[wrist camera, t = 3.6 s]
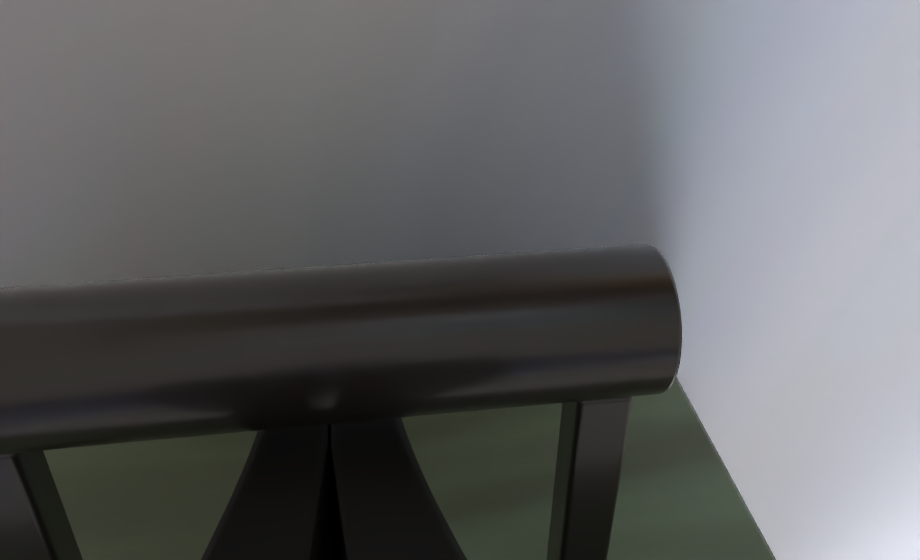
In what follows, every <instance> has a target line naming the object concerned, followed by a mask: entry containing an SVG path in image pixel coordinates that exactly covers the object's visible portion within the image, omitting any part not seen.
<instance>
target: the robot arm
mask: <svg viewBox="0 0 920 560" xmlns="http://www.w3.org/2000/svg"><path fill="white" fill-rule="evenodd" d="M201 560H467V558H466V557H465V555H464V553H463V551H462V550H461V548H460V546H459V544H458V542H457V540H456V538H455V536H454V535H453V533H452V531H451V529H450V527H449V525H448V523H447V521H446V519H445V517H444V516H443V514H442V512H441V510H440V508H439V506H438V504H437V502H436V500H435V498H434V496H433V494H432V492H431V490H430V488H429V486H428V484H427V482H426V479H425V477H424V475H423V473H422V470H421V468H420V466H419V463H418V461H417V459H416V456H415V454H414V452H413V449H412V446H411V444H410V441H409V439H408V436H407V433H406V430H405V427H404V424H403V421H402V418H392V419H381V420H370V421H359V422H348V423H337V424H326V425H315V426H304V427H293V428H282V429H271V430H260V431H257V434H256V437H255V440H254V443H253V445H252V448H251V451H250V453H249V456H248V458H247V461H246V463H245V466H244V468H243V470H242V473H241V475H240V477H239V480H238V482H237V484H236V487H235V489H234V491H233V494H232V496H231V498H230V500H229V503H228V505H227V507H226V509H225V511H224V513H223V515H222V517H221V519H220V521H219V523H218V525H217V527H216V529H215V531H214V534H213V536H212V538H211V540H210V542H209V544H208V546H207V548H206V550H205V552H204V554H203V556H202V558H201Z"/></svg>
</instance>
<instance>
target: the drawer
mask: <svg viewBox="0 0 920 560" xmlns="http://www.w3.org/2000/svg"><path fill="white" fill-rule="evenodd" d="M681 347H682V323H681V312H680V305H679V299H678V294H677V290H676V285H675V282H674V278H673V275H672V273H671V270H670V268H669V265H668V263H667V261H666V259H665V258H664V256H663V255H662V253H661V252H660V251H659V250H658V249H657V248H656V247H654V246H652V245H648V244H637V245H622V246H607V247H593V248H578V249H564V250H549V251H535V252H520V253H506V254H491V255H476V256H462V257H447V258H433V259H418V260H404V261H389V262H375V263H360V264H346V265H331V266H316V267H302V268H287V269H273V270H258V271H244V272H229V273H215V274H200V275H186V276H171V277H156V278H142V279H127V280H113V281H98V282H84V283H69V284H55V285H40V286H26V287H11V288H0V560H201V558H202V556H203V554H204V552H205V550H206V548H207V546H208V544H209V542H210V540H211V538H212V536H213V534H214V531H215V529H216V527H217V525H218V523H219V521H220V519H221V517H222V515H223V513H224V511H225V509H226V507H227V505H228V503H229V500H230V498H231V496H232V494H233V491H234V489H235V487H236V484H237V482H238V480H239V477H240V475H241V473H242V470H243V468H244V466H245V463H246V461H247V458H248V456H249V453H250V451H251V448H252V445H253V443H254V440H255V437H256V434H257V431H260V430H271V429H282V428H293V427H304V426H315V425H326V424H337V423H348V422H359V421H370V420H381V419H392V418H402V421H403V424H404V427H405V430H406V433H407V436H408V439H409V441H410V444H411V446H412V449H413V452H414V454H415V456H416V459H417V461H418V463H419V466H420V468H421V470H422V473H423V475H424V477H425V479H426V482H427V484H428V486H429V488H430V490H431V492H432V494H433V496H434V498H435V500H436V502H437V504H438V506H439V508H440V510H441V512H442V514H443V516H444V517H445V519H446V521H447V523H448V525H449V527H450V529H451V531H452V533H453V535H454V536H455V538H456V540H457V542H458V544H459V546H460V548H461V550H462V551H463V553H464V555H465V557H466V558H467V560H776V559H775V557H774V555H773V553H772V551H771V550H770V548H769V546H768V544H767V542H766V540H765V539H764V537H763V535H762V533H761V531H760V529H759V528H758V526H757V524H756V522H755V520H754V518H753V517H752V515H751V513H750V511H749V509H748V507H747V506H746V504H745V502H744V500H743V498H742V496H741V494H740V493H739V491H738V489H737V487H736V485H735V483H734V482H733V480H732V478H731V476H730V474H729V472H728V471H727V469H726V467H725V465H724V463H723V461H722V460H721V458H720V456H719V454H718V452H717V450H716V449H715V447H714V445H713V443H712V441H711V439H710V438H709V436H708V434H707V432H706V430H705V428H704V427H703V425H702V423H701V421H700V419H699V417H698V416H697V414H696V412H695V410H694V408H693V406H692V405H691V403H690V401H689V399H688V397H687V395H686V394H685V392H684V390H683V388H682V386H681V384H680V383H679V381H678V379H677V377H676V375H677V372H678V368H679V364H680V358H681Z"/></svg>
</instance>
